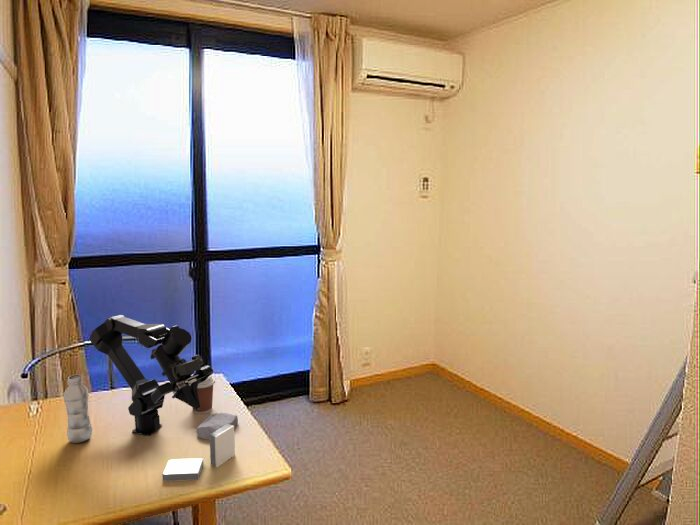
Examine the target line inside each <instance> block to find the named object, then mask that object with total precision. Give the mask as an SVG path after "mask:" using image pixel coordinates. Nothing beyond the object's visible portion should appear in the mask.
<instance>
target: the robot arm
mask: <svg viewBox="0 0 700 525" xmlns="http://www.w3.org/2000/svg"><path fill="white" fill-rule="evenodd" d="M123 334H124V335H126V336H129V337H132V338H134V339H137V343H138V344H139V345H140V346H142V347H145V349H150V348H153V347H156V346H157V347H156V348H153V349H152V350H151V353H150V360H156V362H157V363H158V364H159V366H160V368H161V369H162V371H163V372H162V373H161V376H162V377H166V378H167V379H168V381H169V382H168V381H167V382H164V383H162V384H161V385H160V384H159V383H158V381H157V379H154V378H153V379H150V380H149V379H147V378H146V377H145V375H144V374H143V373H142V370H140V368H139V366H138V365H137V364H136V363H135V361H134V359H133V358H132V357H131V355H130V354H129V352H128V351H127V350H126V349H125V347H124V346H123ZM89 341H90V343H91V344H92V346H94V347H95V348H96V350H97V351H98V352H100V353H102V354H105V355H107V356H108V357H109V359H110V360H111V362H112V363H113V365H114V366H115V367H116V369H117V370H118V372H119V373H120V374H121V376H122V378H124V381H125V382H126V383H127V385H128V386H129V387H130V389H131V401H132V402H131V403H130V405H129V406H128V408H127V409H128V410H127V411H128V413H129V415H130V416H133V417H134V426H135V428H134V429H132V431H131V433H133V434H138V435H139V434H140V435H144V436H151V435H152V434H154V433H155V432H156V431H157V430H159V429H160V428H162V427H163V424H162V423H160V422H161V421H160V415H159V410H160V409H162V408H163V406H164V402H165V397H166V395H168V394H171V393H172V394H173V395H172V396H171V398H172V399H177V400H178V401H180V402H182V403H185V404H186V405H188V406H189V407H193V408H194V409H196V410H197V409H199V408H200V402H199V397H198V390H197V387H198V384H199V383H201V382H204V381H205V380H206V379H207V378H208V377H209V376H210V375H211V374H214V372H215V371H214V369H213V368H212V366H210V365H204V360H203V357H202V356H201V355H200V354H196V355H194V356H191V360H189V361H187V360H186V358H182V359H181V357H180V355H181V354H182V353H183V351H184V350H185V349H186V348H187V347H188V346H189V345H190V343H191V342H192V335H191V333H190V332H189V331H187V330H186V329H184V328H180V326H179V325H177V324H176V325H174V326H171V327H170V328H168V327H167V326H166V325H165V324H163V323H149V324H147V323H144V322H143V323H142V321H141V322H140V321H138V320H135V319H132V318H129V317H127V316H125V315H123V314H118V315H114V316H110V317H108V318H107V319H106V320H105V321H104V322H102V323H101V324H100V325H98V326H97V327H95V329H93V330H92V332H91V334H90V335H89ZM203 365H204V366H203ZM201 366H202V367H201ZM193 374H194V375H193ZM187 381H188V382H187ZM193 408H192V409H193Z"/></svg>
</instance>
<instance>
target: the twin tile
mask: <svg viewBox="0 0 700 525" xmlns="http://www.w3.org/2000/svg"><path fill="white" fill-rule="evenodd" d="M203 467H204V458H203V457H200V458H197V457H196V458H173V459H169V460H168V462H167V464H166V466H165V468H164V470H163V472H162V476H161V477H162V482H176V481H179V482H180V481H182V482H183V481H199V479H200V475H201V473H202V469H203Z"/></svg>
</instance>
